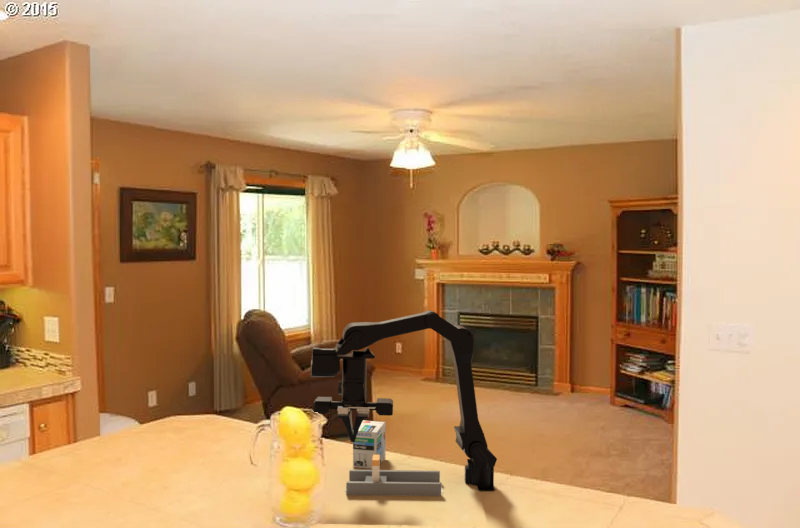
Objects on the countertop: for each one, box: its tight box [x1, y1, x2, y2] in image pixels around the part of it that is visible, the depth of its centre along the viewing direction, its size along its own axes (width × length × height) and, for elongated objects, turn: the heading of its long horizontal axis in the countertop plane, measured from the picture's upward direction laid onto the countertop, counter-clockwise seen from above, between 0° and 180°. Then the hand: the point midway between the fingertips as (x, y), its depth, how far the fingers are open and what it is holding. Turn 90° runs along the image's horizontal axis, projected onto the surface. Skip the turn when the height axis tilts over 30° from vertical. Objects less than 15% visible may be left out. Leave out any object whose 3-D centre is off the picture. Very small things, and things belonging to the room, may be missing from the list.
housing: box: [344, 469, 444, 497], centre depth 161 cm, size 24×16×4 cm, turn 89°
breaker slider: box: [365, 455, 387, 482], centre depth 161 cm, size 5×6×7 cm
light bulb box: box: [352, 419, 387, 469], centre depth 180 cm, size 11×7×11 cm, turn 168°
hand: (352, 441), depth 161 cm, fingers closed
